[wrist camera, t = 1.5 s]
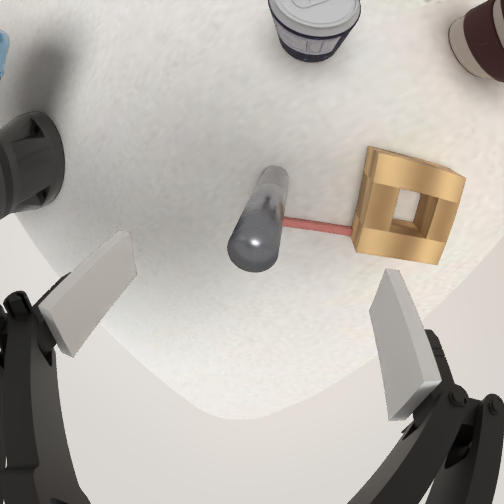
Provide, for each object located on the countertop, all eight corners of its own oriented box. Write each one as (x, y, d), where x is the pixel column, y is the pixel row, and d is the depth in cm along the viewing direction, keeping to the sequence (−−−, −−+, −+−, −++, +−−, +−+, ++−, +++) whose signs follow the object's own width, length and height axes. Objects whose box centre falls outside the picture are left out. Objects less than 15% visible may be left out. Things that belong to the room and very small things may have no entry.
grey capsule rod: (260, 190, 29) (226, 268, 16) (262, 164, 27) (227, 224, 15) (286, 193, 29) (275, 275, 16) (289, 167, 27) (281, 231, 14)
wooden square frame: (350, 234, 30) (356, 252, 26) (368, 146, 25) (378, 152, 21) (425, 247, 29) (437, 265, 25) (448, 168, 24) (466, 178, 20)
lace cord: (243, 218, 31) (242, 220, 30) (243, 211, 30) (242, 213, 30) (350, 233, 30) (351, 236, 29) (351, 227, 29) (352, 229, 29)
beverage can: (348, 52, 20) (383, 18, 10) (297, 72, 22) (297, 47, 12) (319, 7, 18) (331, -49, 8) (268, 27, 20) (247, -21, 10)
